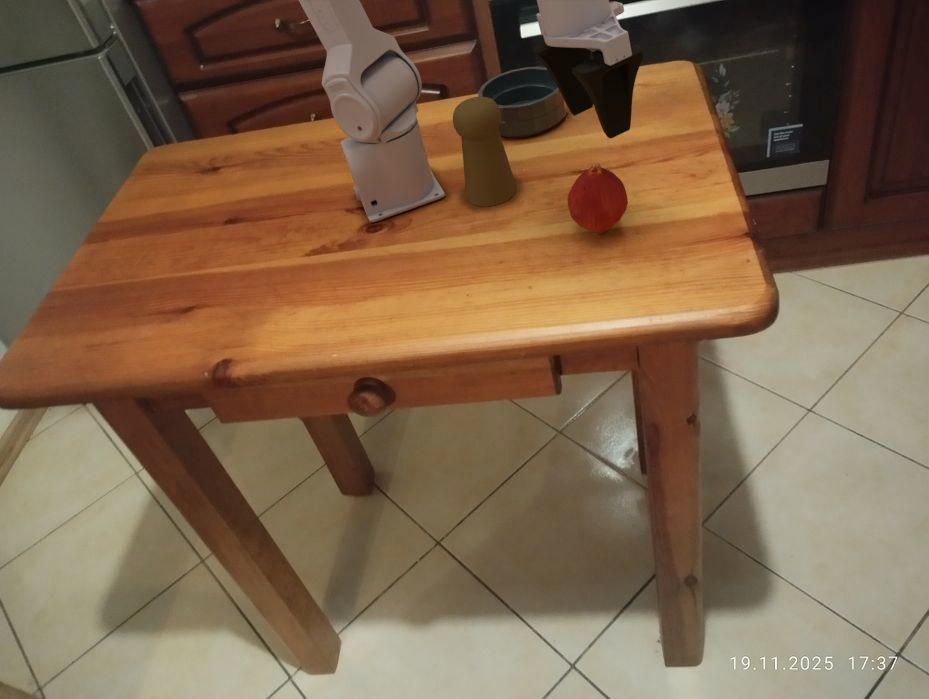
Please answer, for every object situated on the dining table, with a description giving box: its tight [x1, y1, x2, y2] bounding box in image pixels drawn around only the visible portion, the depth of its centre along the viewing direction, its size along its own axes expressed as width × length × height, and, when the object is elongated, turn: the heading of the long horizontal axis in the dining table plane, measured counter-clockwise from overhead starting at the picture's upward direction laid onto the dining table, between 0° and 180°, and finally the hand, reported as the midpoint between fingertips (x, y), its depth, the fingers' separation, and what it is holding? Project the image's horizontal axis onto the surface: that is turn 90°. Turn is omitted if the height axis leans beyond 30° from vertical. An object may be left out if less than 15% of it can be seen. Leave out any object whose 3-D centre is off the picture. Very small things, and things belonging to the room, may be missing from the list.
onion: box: [567, 162, 629, 235], centre depth 67 cm, size 6×6×8 cm
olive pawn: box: [452, 96, 518, 208], centre depth 75 cm, size 6×6×11 cm
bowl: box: [477, 66, 569, 138], centre depth 88 cm, size 11×11×4 cm
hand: (599, 121), depth 63 cm, fingers open, 7 cm apart
